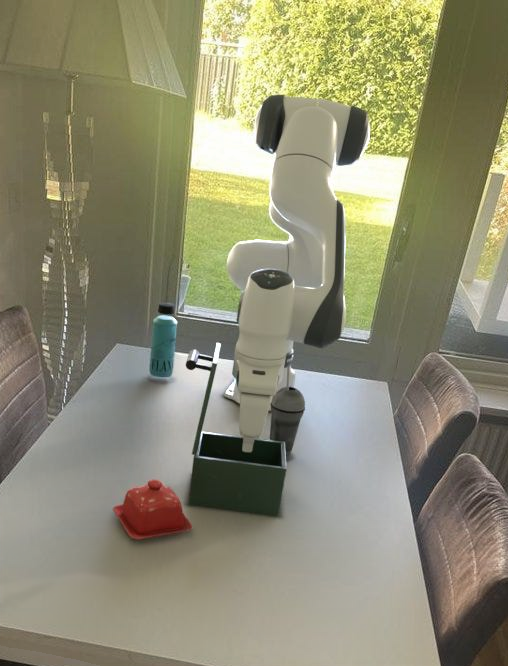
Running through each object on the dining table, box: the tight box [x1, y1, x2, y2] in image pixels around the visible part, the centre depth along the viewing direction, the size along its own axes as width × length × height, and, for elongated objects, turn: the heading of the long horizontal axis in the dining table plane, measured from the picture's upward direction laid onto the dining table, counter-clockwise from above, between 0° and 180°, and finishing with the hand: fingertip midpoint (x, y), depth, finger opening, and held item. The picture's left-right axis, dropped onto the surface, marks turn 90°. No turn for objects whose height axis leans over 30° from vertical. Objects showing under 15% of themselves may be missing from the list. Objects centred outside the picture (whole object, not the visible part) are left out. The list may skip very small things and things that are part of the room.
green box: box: [188, 431, 287, 517], centre depth 131 cm, size 17×12×10 cm
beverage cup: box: [269, 366, 306, 461], centre depth 145 cm, size 7×7×20 cm
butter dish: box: [112, 478, 193, 540], centre depth 119 cm, size 12×12×8 cm
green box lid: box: [185, 342, 222, 456], centre depth 124 cm, size 17×12×5 cm
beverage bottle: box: [148, 302, 178, 378], centre depth 180 cm, size 6×7×20 cm
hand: (247, 439), depth 127 cm, fingers open, 8 cm apart
